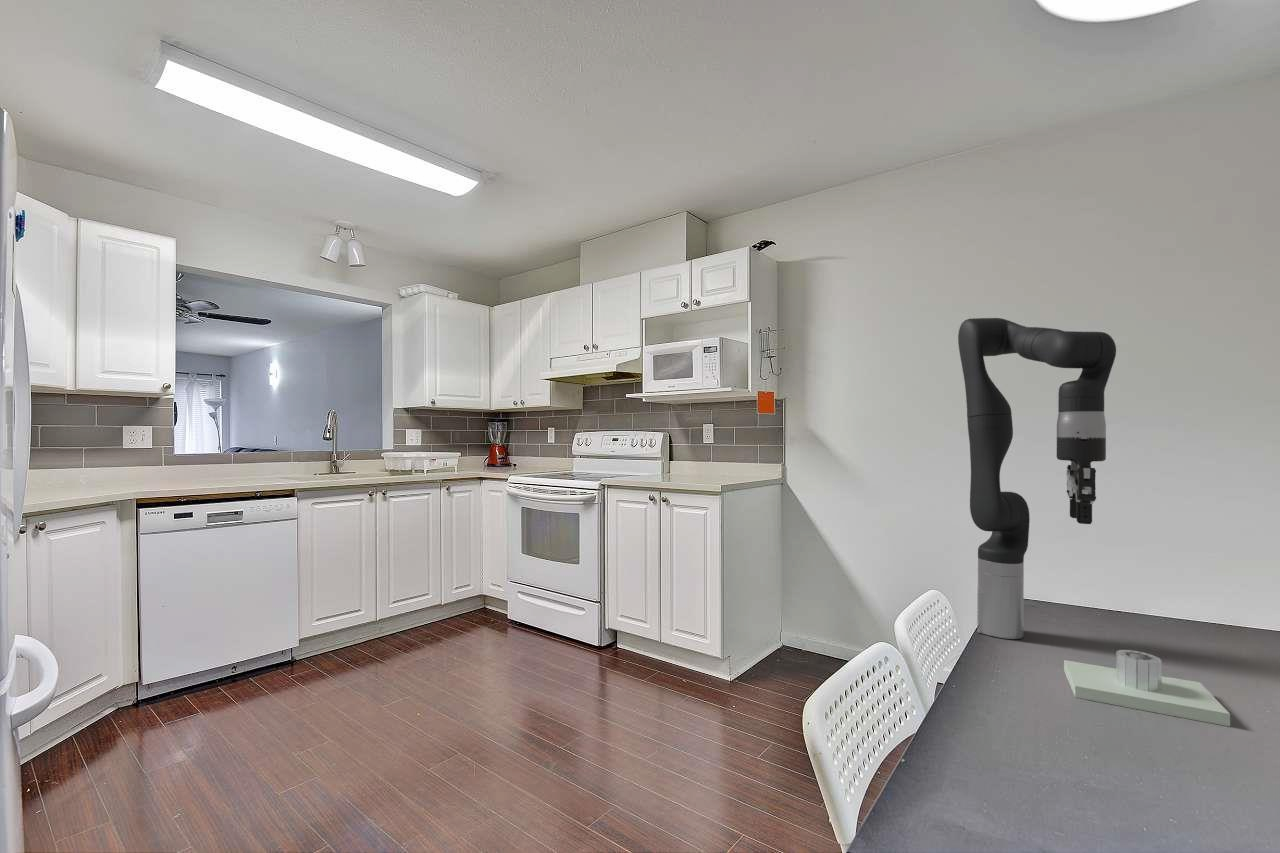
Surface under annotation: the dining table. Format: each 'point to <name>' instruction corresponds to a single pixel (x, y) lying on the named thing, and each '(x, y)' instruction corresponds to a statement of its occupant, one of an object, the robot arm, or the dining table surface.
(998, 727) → the dining table surface
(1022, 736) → the dining table surface
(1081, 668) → the post base
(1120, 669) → the cylinder
